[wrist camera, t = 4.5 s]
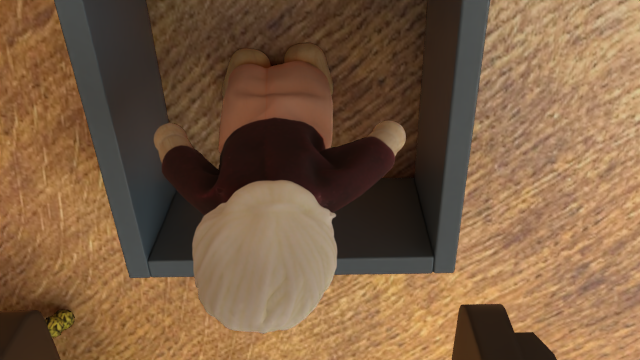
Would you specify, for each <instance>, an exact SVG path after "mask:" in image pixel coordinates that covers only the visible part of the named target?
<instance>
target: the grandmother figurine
mask: <svg viewBox="0 0 640 360" xmlns="http://www.w3.org/2000/svg"><path fill="white" fill-rule="evenodd" d="M333 89H334V87H333V81H332V77H331V74H330V71H329V68H328V64H327V61H326V58H325V55H324V53H323V51H322V50H321V48H320V47H318V46H317V45H315V44H312V43H302V44H297V45H294V46H292V47H290V48H289V49H288V50H287V52H286V53H285V57H284V64H281V65H276V66H272V67H271V66H270V61H269V59H268V57H267V56H266V55H265V54H264V53H262V52H261V51H259V50H255V49H248V48H243V49H239V50H238V51H236V52H235V53H234V54H233V55H232V57H231V59H230V62H229V65H228V68H227V72H226V75H225V78H224V82H223V86H222V96H223V99H224V100H223V106H222V114H221V122H220V131H219V153H220V154H221V155H220V165H219V170H218V169H217V168H215V167H214V166H213V165H212V164H211V163H210V162H209V161H208V160H207V159H205V158H204V157H203V155H202V154H201V153H199V152H198V151H197V150H195V149H193V147H192V145H191V143H190V142H189V141H188V139H187V135H186V132H185V131H184V129H183V128H182V127H180V126H179V125H177V124H173V123H167V124H164V125H162V126H160V127H159V128H158V129H157V130H156V132H155V134H154V144H155V147H156V148H157V150H158V151H159V157H160V160H161V162H162V173H163V175H164V176H165V178H166V179H167V180H168V181H169V182H170V183H171V184H172V185H173V186H174V187H175V189H176V190H177V191H178V192H179V193H180V194H181V195H182V196H183V197H184V198H185V199H186V200H187V201H188V202H189V203H190V204H191V205H193V206H194V207H195V208H196V209H198V210H199V211H200V212H201V213H202V214H203V215H205V216H203V218H202V221H201V222H200V224H199V225H198V227H197V228H196V231H195V235H194V238H193V243H192V247H193V251H192V256H193V262H194V263H193V271H194V278H195V284H196V287H197V288H198V295H199V300H200V302H201V303H202V304H203V306H204V308H205V310H206V312H207V313H208V314H209V315H211V316H213V317H215V318H216V319H217V320H218V321H220V322H221V323H222V324H223V325H224V326H225V327H226V328H228V329H231V330H235V331H248V332H259V333H263V334H264V333H267V332H272V331H276V330H287V329H290V328H292V327H294V326H296V325H297V324H298V323H300V322H301V321H302V320H304V319H305V318H306V317H307V316H308V315H309V314H310V313H311V312H312V311H313V310H314V309H315V308H316V306H317V304H318V303H319V301H320V300H321V298H322V296H323V293H324V292H325V291H326V290H327V289H328V287H329V285H330V284H331V282H332V279H333V276H334V273H335V270H336V267H337V246H336V242H335V239H334V229H333V226H332V218H334V217H336V214H335V213H333V212H334V211H337V210H339V209H341V208H342V207H344V206H346V205H347V204H349V203H350V202H352V201H353V200H355V199H356V198H358V197H359V196H361V195H362V194H363V193H365V192H366V191H367V190H368V189H369V188H371V187H372V186H373V185H374V184H375V183H376V182H378V181H379V180H380V179H381V178H382V177H383V176H385V175H386V174H387V173H388V172H389V171H390V170H391V169H392V167H393V166H394V163H395V156H396V154H397V152H398V151H399V150H400V149H401V148H402V147H403V145H404V143H405V141H406V134H405V131H404V129H403V127H402V126H401V125H400V124H399V123H397V122H394V121H391V120H388V121H383V122H381V123H379V124H378V125H377V126H376V127H375V128H374V129H373V132H372V133H370V134H369V135H368V136H367V137H365V138H362V139H360V140H356V141H354V142H352V143H348V144H345V145H342V146H338V147H333V148H330V147H331V143H332V132H333V101H332V97H331V96H332V94H333Z"/></svg>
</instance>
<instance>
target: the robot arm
mask: <svg viewBox="0 0 640 360" xmlns="http://www.w3.org/2000/svg"><path fill="white" fill-rule="evenodd" d="M0 360H61V359H60V357H59V354H58V352H57V349H56V347H55V344H54V342H53V339H52V337H51V334H50V332H49V329H48V327H47V324H46V322H45V319H44V317H43V315H42V314H41V312H39V311H37V310H17V311H0ZM452 360H557V359H556V357H555V355H554V354H553V353H552V352H551V351H550V350H549V349H548V347H547V346H546V345H545V344H544V343H543V342H542V341H541V340H540V339H539V338H538V337H537V336H536V335H535V334H534V333H533V332H526V333H514V331H513V328H512V325H511V323H510V320H509V317H508V315H507V312H506V310H505V308H504V306H503V305H501V304H476V305H461V306H460V309H459V313H458V320H457V327H456V334H455V341H454V347H453V354H452Z"/></svg>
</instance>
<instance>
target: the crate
mask: <svg viewBox="0 0 640 360" xmlns="http://www.w3.org/2000/svg"><path fill="white" fill-rule="evenodd" d="M54 2H55V6H56V9H57V13H58V17H59V20H60V24H61V28H62V31H63V35H64V39H65V42H66V46H67V50H68V53H69V57H70V61H71V64H72V68H73V72H74V75H75V79H76V83H77V86H78V90H79V94H80V97H81V101H82V105H83V108H84V112H85V116H86V119H87V123H88V127H89V130H90V134H91V138H92V141H93V145H94V149H95V152H96V156H97V160H98V163H99V167H100V171H101V174H102V178H103V182H104V185H105V189H106V193H107V196H108V200H109V204H110V207H111V211H112V215H113V218H114V222H115V226H116V229H117V233H118V237H119V240H120V244H121V248H122V251H123V255H124V259H125V262H126V266H127V270H128V273H129V277H130V278H150V277H194V271H193V263H194V262H193V256H192V251H193V247H192V243H193V238H194V235H195V231H196V228H197V227H198V225H199V224H200V222H201V221H202V218H203V216H205V215H203V214H202V213H201V212H200V211H199V210H198V209H196V208H195V207H194V206H193V205H191V204H190V203H189V202H188V201H187V200H186V199H185V198H184V197H183V196H182V195H181V194H180V193H179V192H178V191H177V190H176V189H175V187H174V186H173V185H172V184H171V183H170V182H169V181H168V180H167V179H166V178H165V176H164V175H163V173H162V162H161V160H160V157H159V151H158V150H157V148H156V147H155V144H154V134H155V132H156V130H157V129H158V128H159V127H160V126H162V125H164V124H167V123H169V121H168V116H167V110H166V105H165V100H164V94H163V89H162V84H161V78H160V73H159V68H158V62H157V57H156V52H155V46H154V41H153V36H152V30H151V25H150V20H149V15H148V9H147V4H146V0H54ZM489 6H490V0H428V1H427V14H426V28H425V41H424V55H423V68H422V82H421V95H420V109H419V122H418V136H417V149H416V163H415V176H414V178H381V179H380V180H379V181H378V182H376V183H375V184H374V185H373V186H372V187H371V188H369V189H368V190H367V191H366V192H365V193H363V194H362V195H361V196H359V197H358V198H356V199H355V200H353V201H352V202H350V203H349V204H347V205H346V206H344V207H342V208H341V209H339V210H337V211H334V212H333V213H335V214H336V217H334V218H332V226H333V229H334V239H335V242H336V246H337V267H336V270H335V273H334V275H349V274H420V273H432V272H434V273H453V272H454V270H455V263H456V255H457V248H458V240H459V233H460V225H461V217H462V210H463V202H464V195H465V187H466V180H467V172H468V165H469V157H470V149H471V142H472V134H473V127H474V119H475V112H476V104H477V96H478V89H479V81H480V74H481V66H482V59H483V51H484V44H485V36H486V28H487V21H488V13H489Z"/></svg>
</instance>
